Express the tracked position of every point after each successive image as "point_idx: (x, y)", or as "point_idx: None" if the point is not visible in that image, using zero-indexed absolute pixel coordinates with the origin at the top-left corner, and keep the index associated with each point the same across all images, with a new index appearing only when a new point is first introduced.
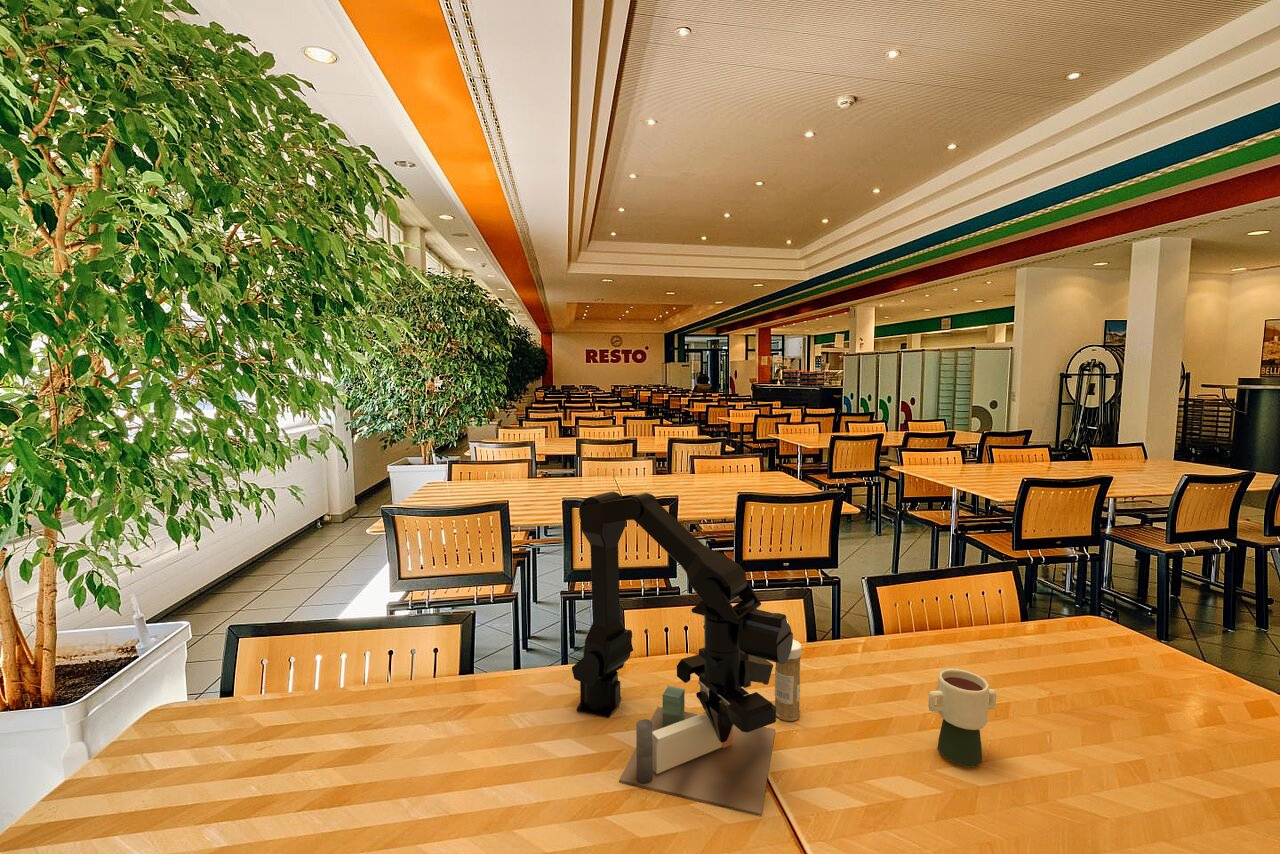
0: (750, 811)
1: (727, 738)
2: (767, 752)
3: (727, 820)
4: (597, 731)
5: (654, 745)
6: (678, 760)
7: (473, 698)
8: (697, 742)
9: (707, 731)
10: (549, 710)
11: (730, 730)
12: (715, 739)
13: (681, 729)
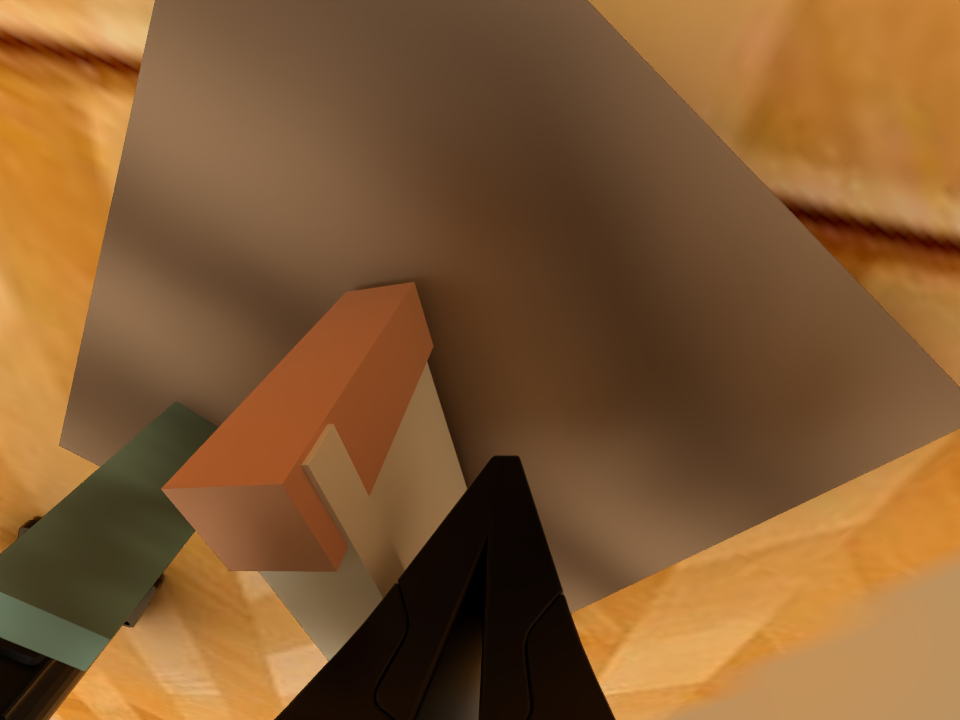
0: (918, 444)
1: (523, 470)
2: (567, 37)
3: (849, 519)
4: (236, 611)
5: None
6: None
7: (114, 709)
8: None
9: (419, 544)
10: (140, 648)
11: (542, 528)
12: (420, 433)
13: None
